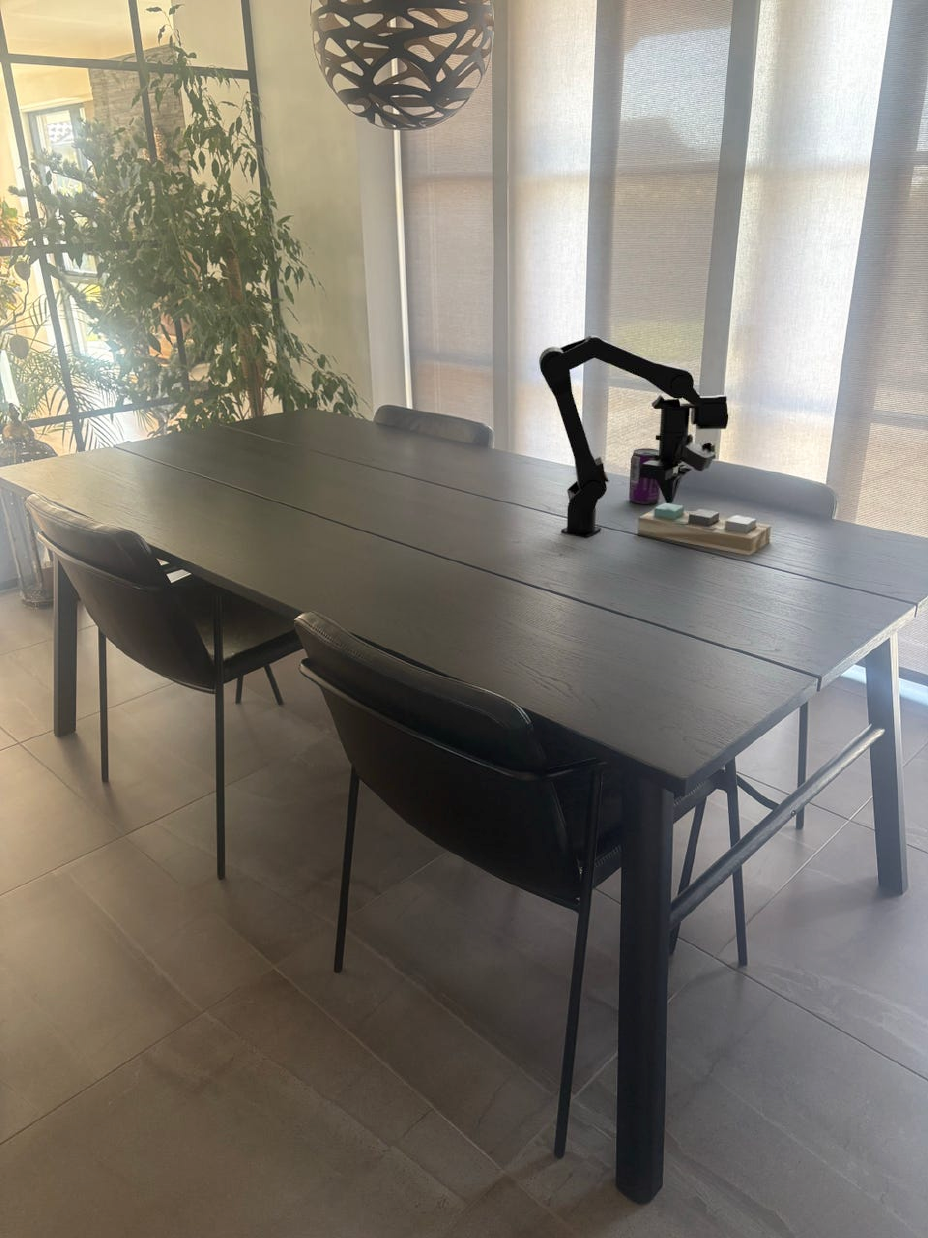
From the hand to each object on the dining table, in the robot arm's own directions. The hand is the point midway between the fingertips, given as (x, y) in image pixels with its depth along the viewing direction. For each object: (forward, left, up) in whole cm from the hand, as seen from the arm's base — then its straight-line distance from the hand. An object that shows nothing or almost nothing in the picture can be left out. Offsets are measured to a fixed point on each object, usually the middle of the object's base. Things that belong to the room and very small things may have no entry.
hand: (669, 502), depth 198 cm
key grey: (0, -16, -4) cm, 16 cm away
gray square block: (0, -8, -4) cm, 9 cm away
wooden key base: (0, -8, -6) cm, 10 cm away
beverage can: (+17, +15, -6) cm, 24 cm away
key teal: (0, 0, -4) cm, 4 cm away
